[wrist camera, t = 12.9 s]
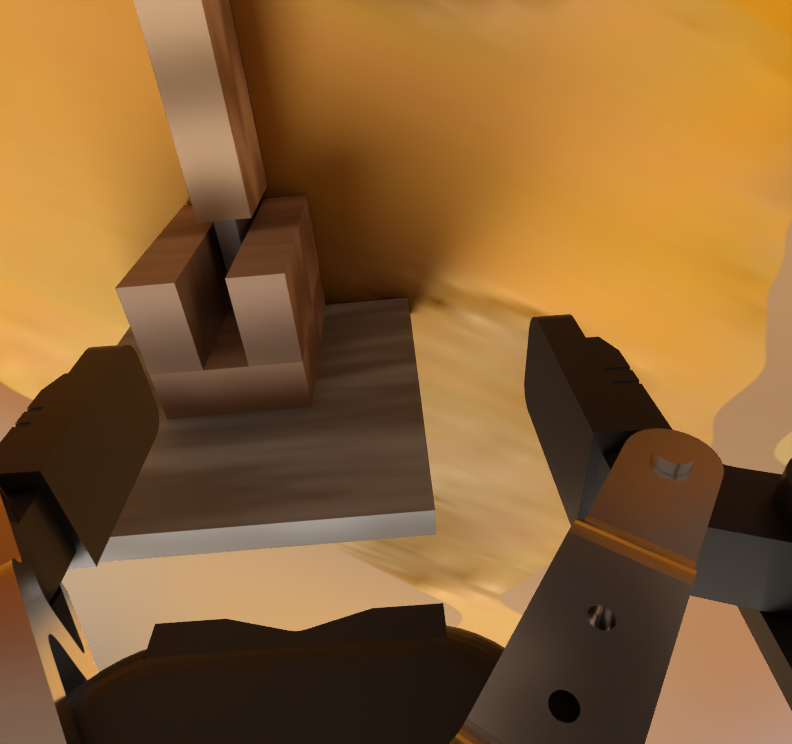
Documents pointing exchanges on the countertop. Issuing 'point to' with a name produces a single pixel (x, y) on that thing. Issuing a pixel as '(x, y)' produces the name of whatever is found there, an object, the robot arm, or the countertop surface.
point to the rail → (207, 111)
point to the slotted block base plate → (268, 399)
